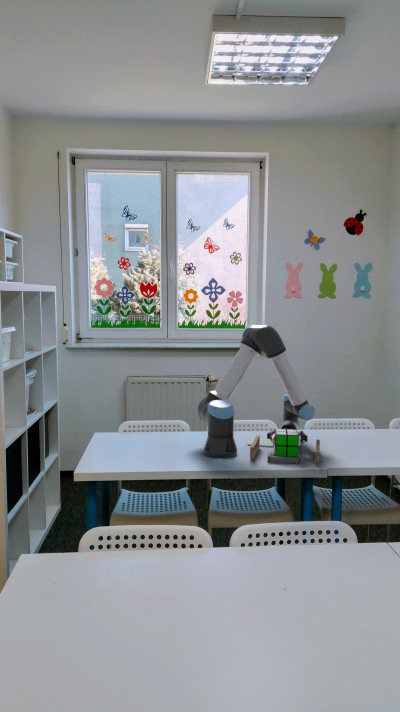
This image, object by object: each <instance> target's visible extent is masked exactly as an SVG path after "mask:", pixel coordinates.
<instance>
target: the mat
mask: <svg viewBox="0 0 400 712" xmlns="http://www.w3.org/2000/svg"><path fill="white" fill-rule="evenodd" d="M254 439H255V437H251V438H250V439H249V441H248V443H247V446H249V447H251V445H252V443H253V441H254ZM259 447H263V448H264V447H265V448H274V447H275V441H274V444H272V441H271V440H270V439H267V438H260V443H259Z"/></svg>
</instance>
